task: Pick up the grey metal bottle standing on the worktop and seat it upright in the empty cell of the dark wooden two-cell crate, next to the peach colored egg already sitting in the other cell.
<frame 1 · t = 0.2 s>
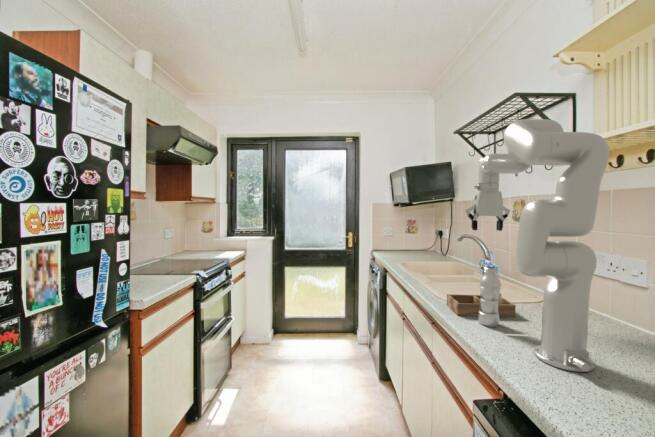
hand: (486, 230, 123), 31 cm above the countertop, tool pointing down, fingers open, 9 cm apart
crate: (479, 312, 116), on the countertop
peach colored egg: (492, 311, 115), point 1 cm above the countertop, touching crate
grey metal bottle: (488, 326, 103), on the countertop
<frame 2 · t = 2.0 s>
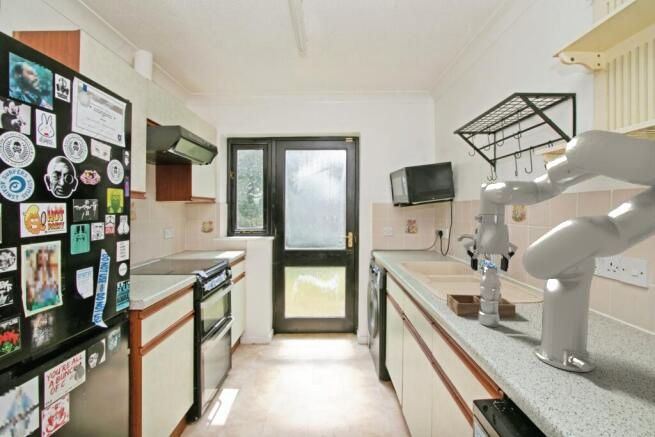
hand: (489, 270, 102), 19 cm above the countertop, tool pointing down, fingers open, 9 cm apart
nothing on the countertop moved.
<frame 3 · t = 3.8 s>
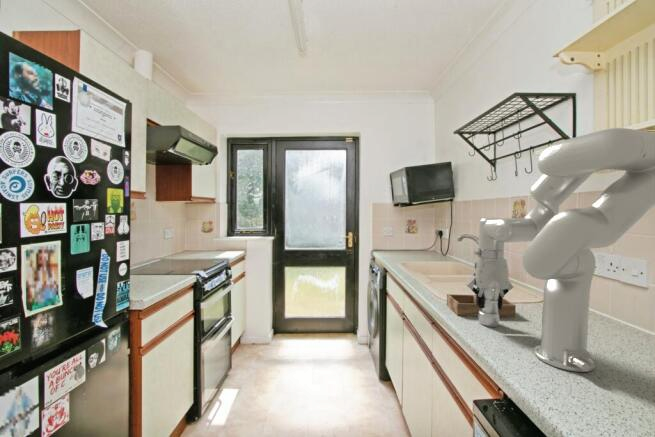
hand: (488, 307, 102), 6 cm above the countertop, tool pointing down, fingers closed on grey metal bottle, 5 cm apart
grey metal bottle: (488, 326, 103), on the countertop, touching gripper
everything else where it was.
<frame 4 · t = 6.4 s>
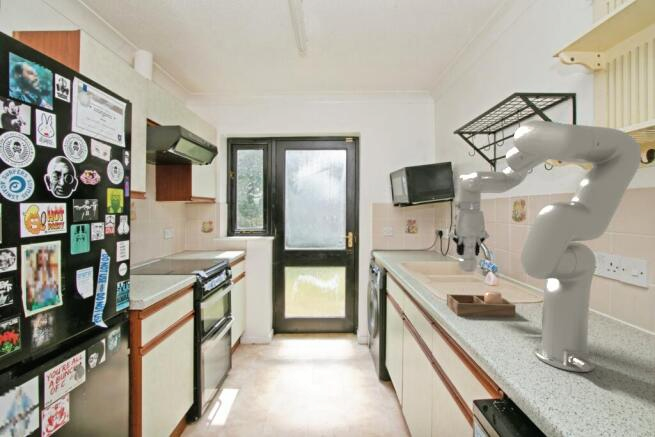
hand: (467, 254, 115), 22 cm above the countertop, tool pointing down, fingers closed on grey metal bottle, 5 cm apart
grey metal bottle: (467, 271, 115), point 16 cm above the countertop, touching gripper
everything else where it was.
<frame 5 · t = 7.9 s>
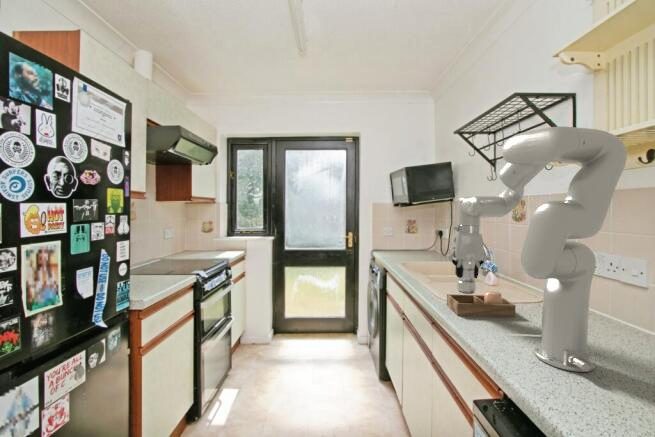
hand: (466, 276, 115), 14 cm above the countertop, tool pointing down, fingers closed on grey metal bottle, 5 cm apart
grey metal bottle: (466, 293, 116), point 7 cm above the countertop, touching gripper
everything else where it was.
when the fingers open (9 cm above the countertop, at t = 9.2 s): grey metal bottle drops 2 cm, resting on crate.
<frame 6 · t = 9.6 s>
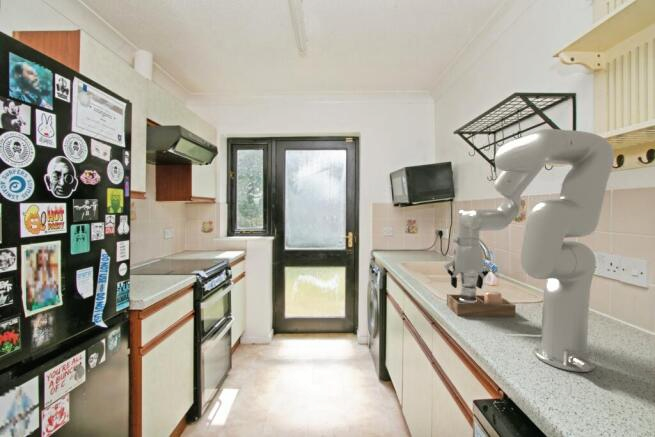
hand: (466, 287, 115), 10 cm above the countertop, tool pointing down, fingers open, 8 cm apart
grey metal bottle: (467, 311, 116), resting on crate
everything else where it was.
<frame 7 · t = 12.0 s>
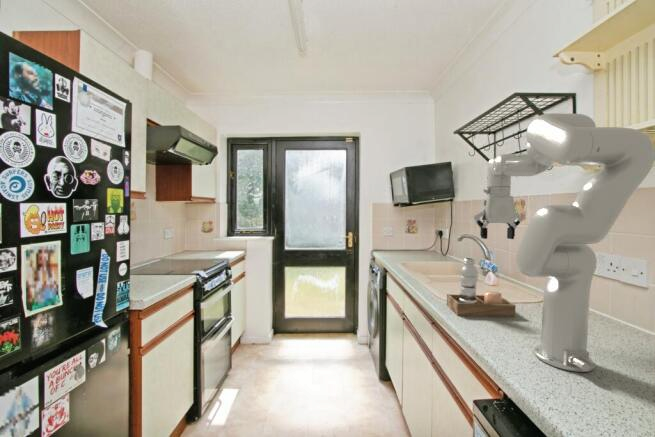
hand: (497, 238, 112), 29 cm above the countertop, tool pointing down, fingers open, 9 cm apart
nothing on the countertop moved.
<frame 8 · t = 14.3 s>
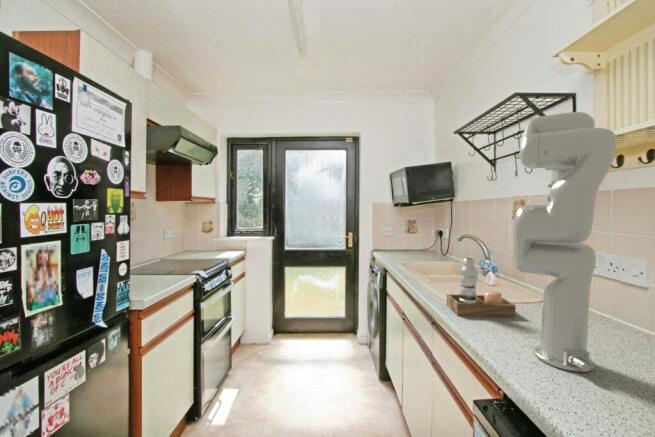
hand: (562, 236, 106), 30 cm above the countertop, tool pointing down, fingers open, 9 cm apart
nothing on the countertop moved.
at the end: grey metal bottle inside the target area on the crate (0.7 cm from its centre), point 0.4 cm above the crate's base; grey metal bottle tilted 0°; the gripper is holding nothing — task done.
